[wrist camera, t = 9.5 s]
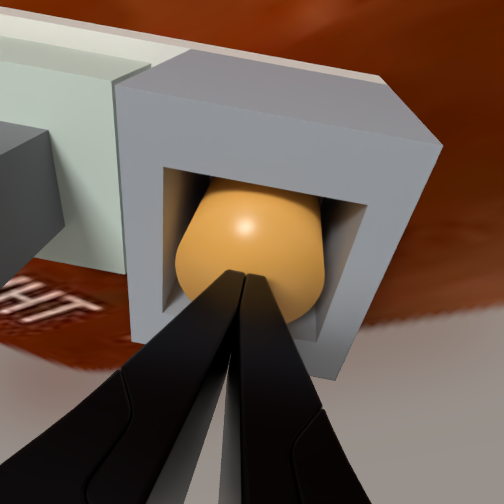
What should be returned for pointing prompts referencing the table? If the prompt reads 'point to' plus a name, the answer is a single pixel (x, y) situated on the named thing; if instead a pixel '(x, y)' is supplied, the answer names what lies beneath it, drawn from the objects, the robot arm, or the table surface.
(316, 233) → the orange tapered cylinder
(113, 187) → the carriage
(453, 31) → the table surface
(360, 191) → the rail
